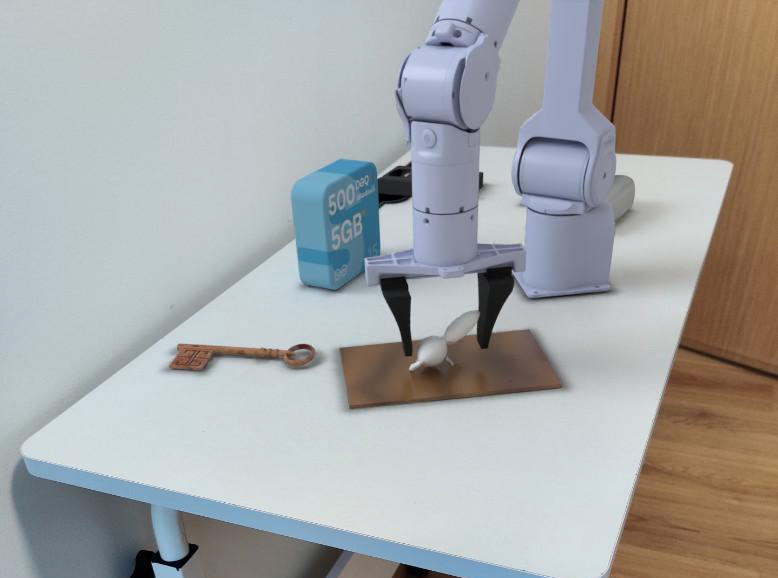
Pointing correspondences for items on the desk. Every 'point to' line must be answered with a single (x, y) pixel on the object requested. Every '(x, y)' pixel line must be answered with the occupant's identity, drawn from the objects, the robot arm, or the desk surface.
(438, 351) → the rabbit figurine
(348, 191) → the data package
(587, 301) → the desk surface
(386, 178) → the vhs tape
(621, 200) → the infrared thermometer
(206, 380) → the desk surface
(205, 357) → the key
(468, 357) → the brown wooden board
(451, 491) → the desk surface
